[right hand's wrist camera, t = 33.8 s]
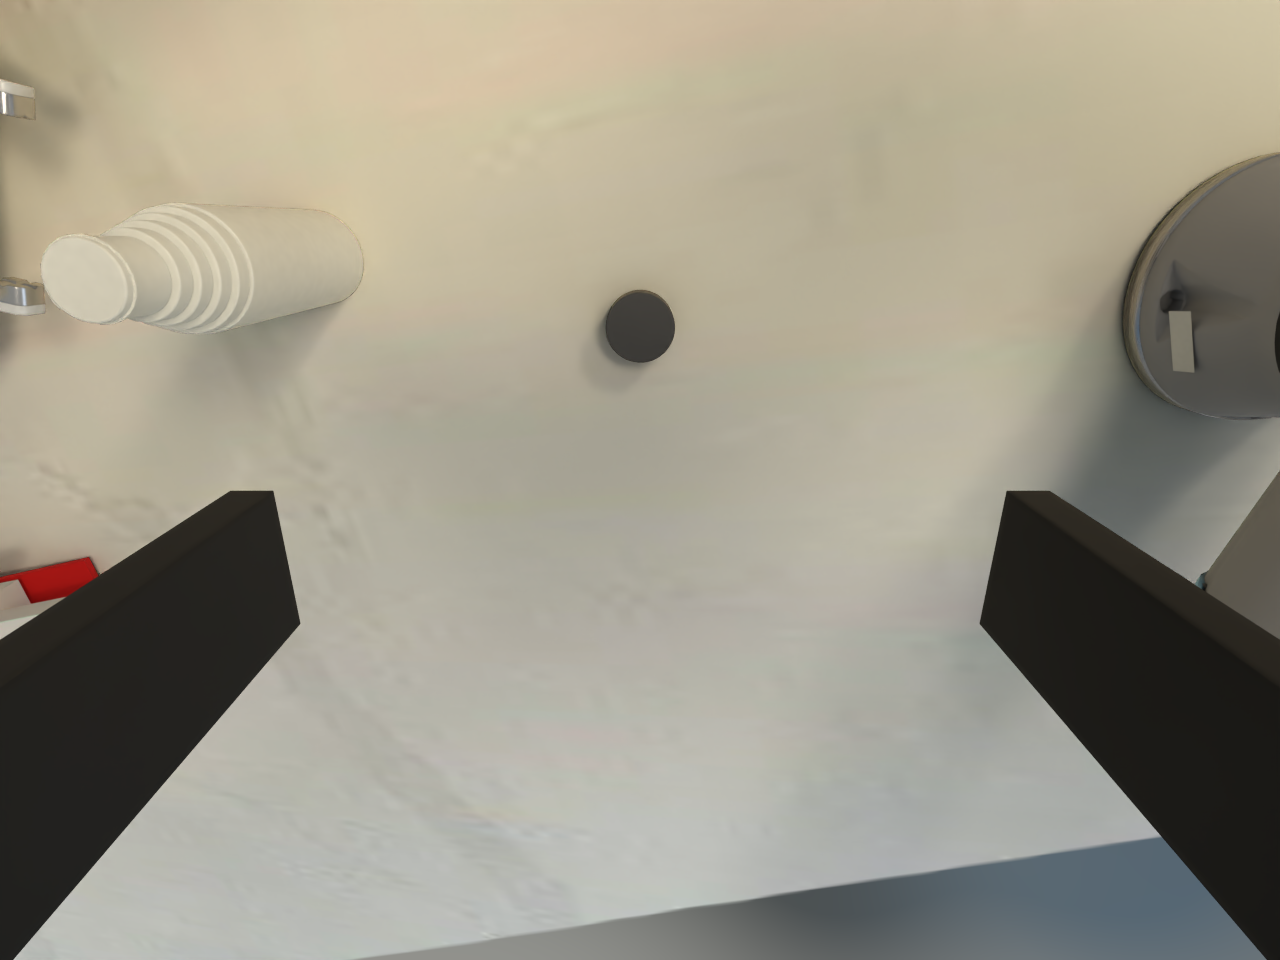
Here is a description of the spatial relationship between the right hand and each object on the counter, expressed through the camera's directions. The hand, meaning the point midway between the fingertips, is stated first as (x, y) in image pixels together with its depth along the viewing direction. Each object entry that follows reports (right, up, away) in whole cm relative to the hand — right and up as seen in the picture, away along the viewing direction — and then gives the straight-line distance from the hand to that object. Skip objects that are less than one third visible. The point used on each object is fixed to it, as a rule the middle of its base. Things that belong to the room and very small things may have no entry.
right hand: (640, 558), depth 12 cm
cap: (0, +11, +28) cm, 30 cm away
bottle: (-19, +15, +28) cm, 37 cm away
